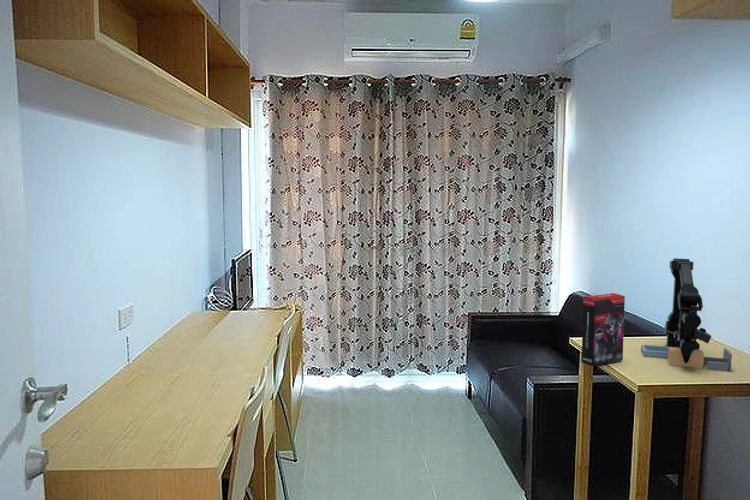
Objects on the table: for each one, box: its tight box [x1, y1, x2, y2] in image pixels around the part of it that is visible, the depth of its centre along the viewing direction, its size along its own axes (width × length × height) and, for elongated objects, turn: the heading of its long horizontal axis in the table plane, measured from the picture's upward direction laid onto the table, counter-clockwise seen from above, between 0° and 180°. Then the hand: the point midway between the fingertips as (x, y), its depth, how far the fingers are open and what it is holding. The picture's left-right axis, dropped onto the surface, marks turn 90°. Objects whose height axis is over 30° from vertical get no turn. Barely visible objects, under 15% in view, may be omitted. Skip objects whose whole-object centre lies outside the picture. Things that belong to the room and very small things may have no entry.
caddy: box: [667, 347, 705, 369], centre depth 241 cm, size 12×5×6 cm, turn 73°
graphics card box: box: [581, 292, 626, 367], centre depth 242 cm, size 17×7×27 cm, turn 117°
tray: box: [640, 344, 678, 359], centre depth 254 cm, size 17×10×2 cm, turn 73°
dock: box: [703, 347, 733, 373], centre depth 237 cm, size 8×8×7 cm
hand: (684, 361), depth 241 cm, fingers closed on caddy, 5 cm apart
